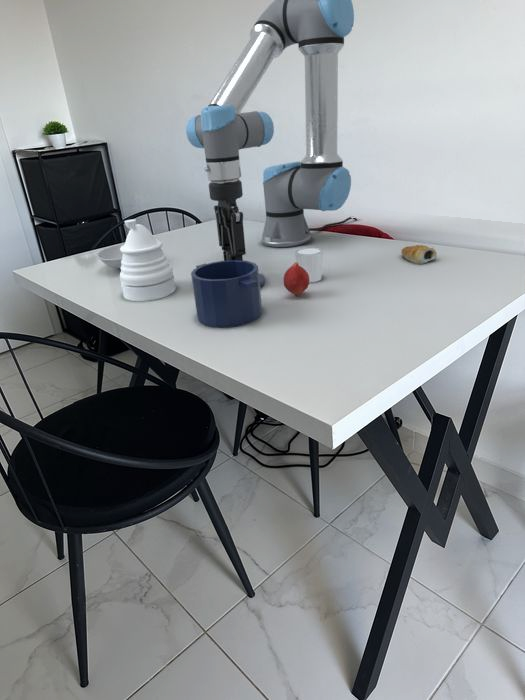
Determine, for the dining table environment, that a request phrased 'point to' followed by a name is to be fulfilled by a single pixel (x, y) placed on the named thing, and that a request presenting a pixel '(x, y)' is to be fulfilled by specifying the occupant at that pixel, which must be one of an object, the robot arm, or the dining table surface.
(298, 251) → the white tapered cylinder
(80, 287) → the dining table surface
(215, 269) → the pot
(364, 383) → the dining table surface
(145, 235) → the honey pot
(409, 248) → the pastry
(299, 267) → the onion
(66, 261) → the dining table surface
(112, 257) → the dish
